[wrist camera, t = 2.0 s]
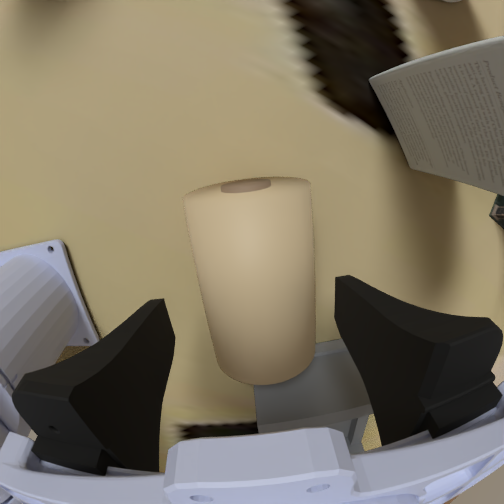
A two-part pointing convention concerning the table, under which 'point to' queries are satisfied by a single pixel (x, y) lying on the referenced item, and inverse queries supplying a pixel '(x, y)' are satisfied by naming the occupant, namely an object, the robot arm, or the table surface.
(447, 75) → the skincare box
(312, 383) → the holder
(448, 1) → the supplement bottle
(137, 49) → the table surface
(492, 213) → the eiffel tower figurine
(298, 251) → the roll
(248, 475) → the robot arm
